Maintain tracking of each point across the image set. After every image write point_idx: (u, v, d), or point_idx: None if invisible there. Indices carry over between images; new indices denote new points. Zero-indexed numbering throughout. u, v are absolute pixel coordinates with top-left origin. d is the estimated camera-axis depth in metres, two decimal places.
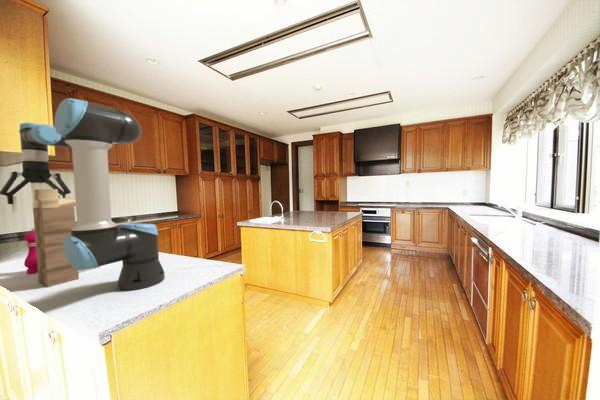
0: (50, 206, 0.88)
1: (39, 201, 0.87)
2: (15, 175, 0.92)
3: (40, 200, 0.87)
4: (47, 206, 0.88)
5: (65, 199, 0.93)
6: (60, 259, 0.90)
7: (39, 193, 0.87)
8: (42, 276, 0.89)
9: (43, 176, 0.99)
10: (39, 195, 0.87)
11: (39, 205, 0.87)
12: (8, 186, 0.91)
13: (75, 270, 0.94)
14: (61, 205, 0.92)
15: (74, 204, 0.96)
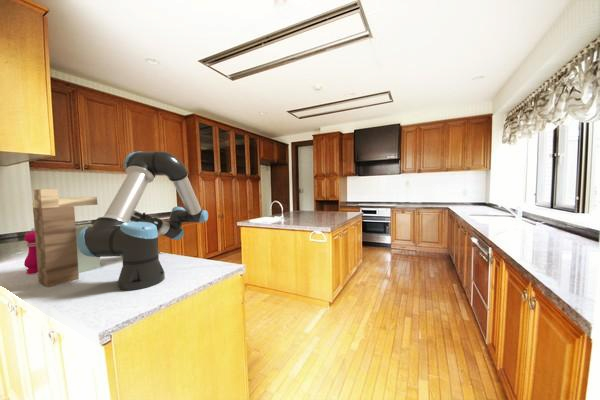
0: (50, 206, 0.88)
1: (39, 201, 0.87)
2: None
3: (40, 200, 0.87)
4: (47, 206, 0.88)
5: (65, 199, 0.93)
6: (60, 259, 0.90)
7: (39, 193, 0.87)
8: (42, 276, 0.89)
9: None
10: (39, 195, 0.87)
11: (39, 205, 0.87)
12: None
13: (75, 270, 0.94)
14: (61, 205, 0.92)
15: (74, 204, 0.96)
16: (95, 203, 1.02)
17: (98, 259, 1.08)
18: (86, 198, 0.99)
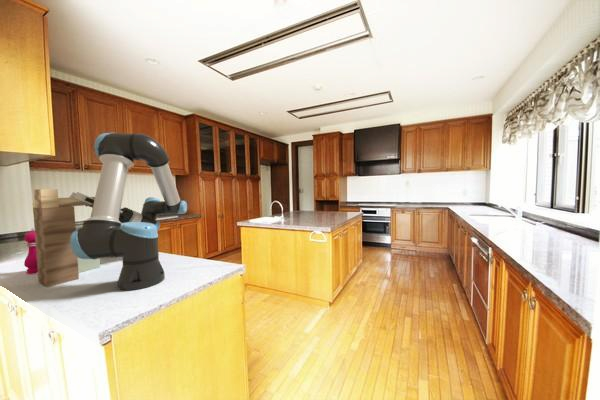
0: (50, 206, 0.88)
1: (39, 201, 0.87)
2: None
3: (40, 200, 0.87)
4: (47, 206, 0.88)
5: (65, 199, 0.93)
6: (60, 259, 0.90)
7: (39, 193, 0.87)
8: (42, 276, 0.89)
9: None
10: (39, 195, 0.87)
11: (39, 205, 0.87)
12: None
13: (75, 270, 0.94)
14: (61, 205, 0.92)
15: (74, 204, 0.96)
16: None
17: (98, 259, 1.08)
18: None
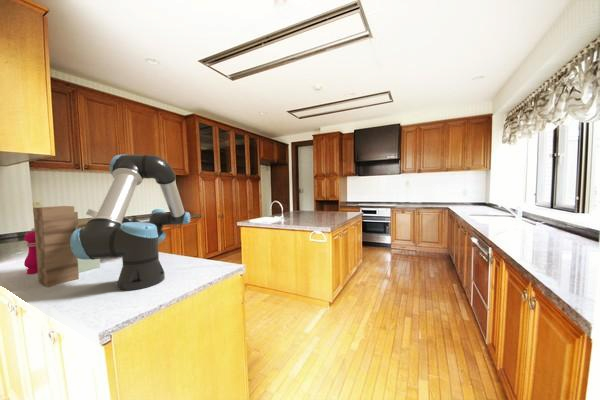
0: None
1: None
2: None
3: None
4: None
5: (83, 220, 1.05)
6: (60, 259, 0.90)
7: None
8: (42, 276, 0.89)
9: None
10: None
11: None
12: None
13: (75, 270, 0.94)
14: (80, 226, 1.04)
15: None
16: None
17: (98, 259, 1.08)
18: None
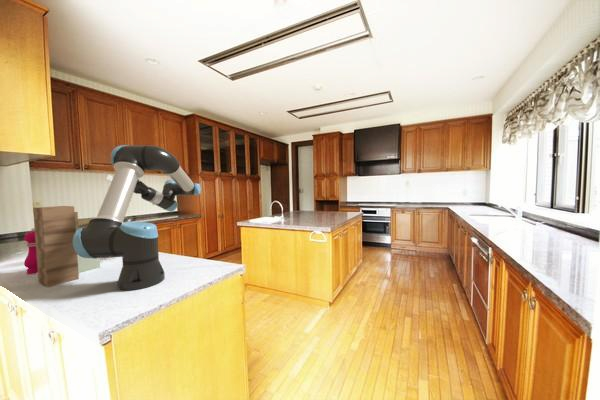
0: None
1: None
2: None
3: None
4: None
5: (83, 220, 1.05)
6: (60, 259, 0.90)
7: None
8: (42, 276, 0.89)
9: None
10: None
11: None
12: None
13: (75, 270, 0.94)
14: (80, 226, 1.04)
15: None
16: None
17: (98, 259, 1.08)
18: None
